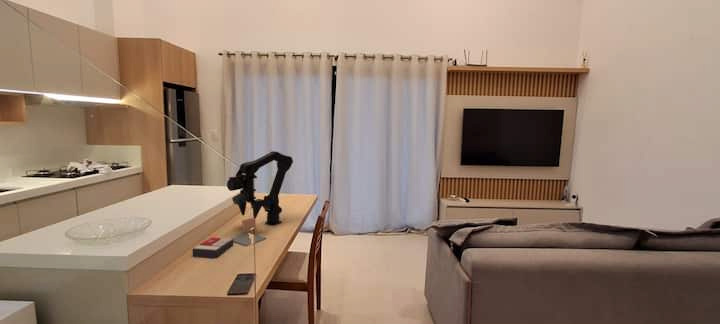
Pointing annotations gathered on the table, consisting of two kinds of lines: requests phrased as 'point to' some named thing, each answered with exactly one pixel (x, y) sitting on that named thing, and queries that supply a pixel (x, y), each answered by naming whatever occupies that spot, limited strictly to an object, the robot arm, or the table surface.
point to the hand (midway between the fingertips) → (249, 216)
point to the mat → (247, 239)
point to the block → (248, 224)
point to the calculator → (212, 248)
